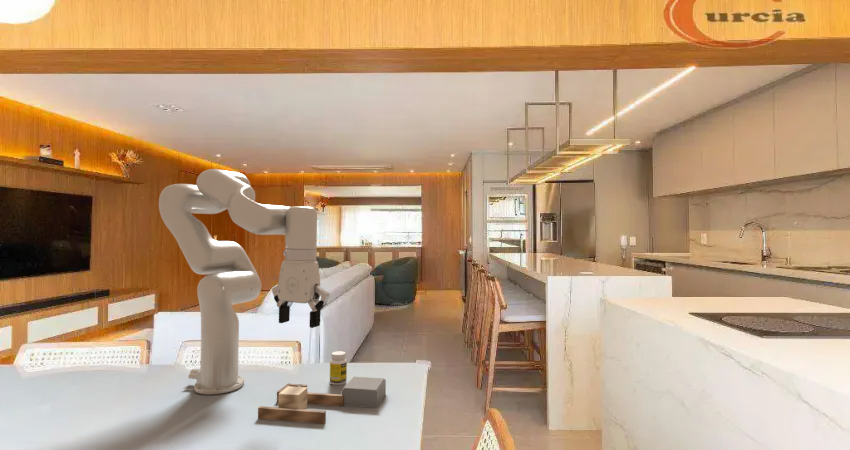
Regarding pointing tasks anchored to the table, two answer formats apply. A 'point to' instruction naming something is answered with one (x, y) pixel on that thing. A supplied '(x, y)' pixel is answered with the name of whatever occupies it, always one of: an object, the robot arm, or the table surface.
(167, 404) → the table surface
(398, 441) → the table surface
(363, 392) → the stand
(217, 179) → the robot arm
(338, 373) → the supplement bottle
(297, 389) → the block
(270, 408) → the channel
